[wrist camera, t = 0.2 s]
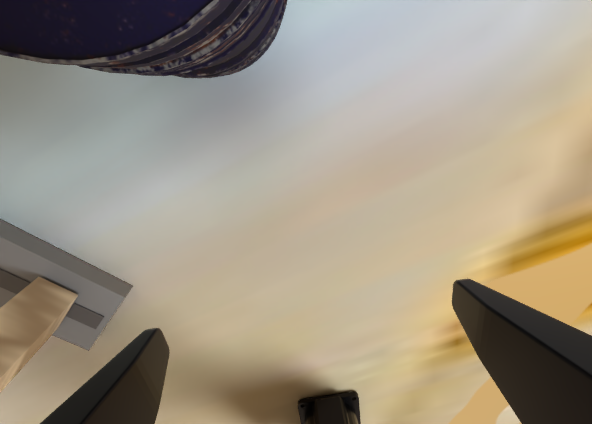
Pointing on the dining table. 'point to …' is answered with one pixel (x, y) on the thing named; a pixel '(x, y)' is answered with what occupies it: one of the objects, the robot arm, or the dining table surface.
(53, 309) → the lever
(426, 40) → the dining table surface
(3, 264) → the fader track
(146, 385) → the robot arm
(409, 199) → the dining table surface
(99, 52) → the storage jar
